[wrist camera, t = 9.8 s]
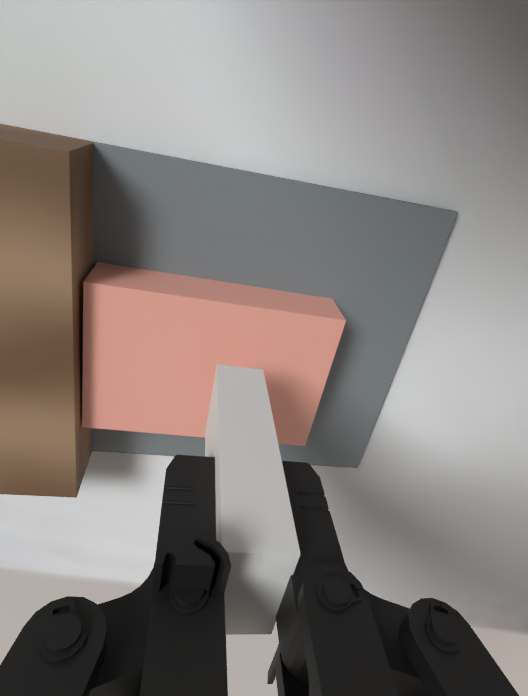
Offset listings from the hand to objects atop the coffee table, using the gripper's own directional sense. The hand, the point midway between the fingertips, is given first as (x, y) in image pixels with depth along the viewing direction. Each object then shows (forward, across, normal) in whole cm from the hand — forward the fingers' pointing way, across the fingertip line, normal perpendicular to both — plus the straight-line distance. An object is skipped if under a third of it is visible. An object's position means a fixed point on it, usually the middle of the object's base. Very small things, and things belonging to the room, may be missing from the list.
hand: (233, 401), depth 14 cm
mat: (+4, +1, 0) cm, 5 cm away
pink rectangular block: (+4, -1, 0) cm, 4 cm away
